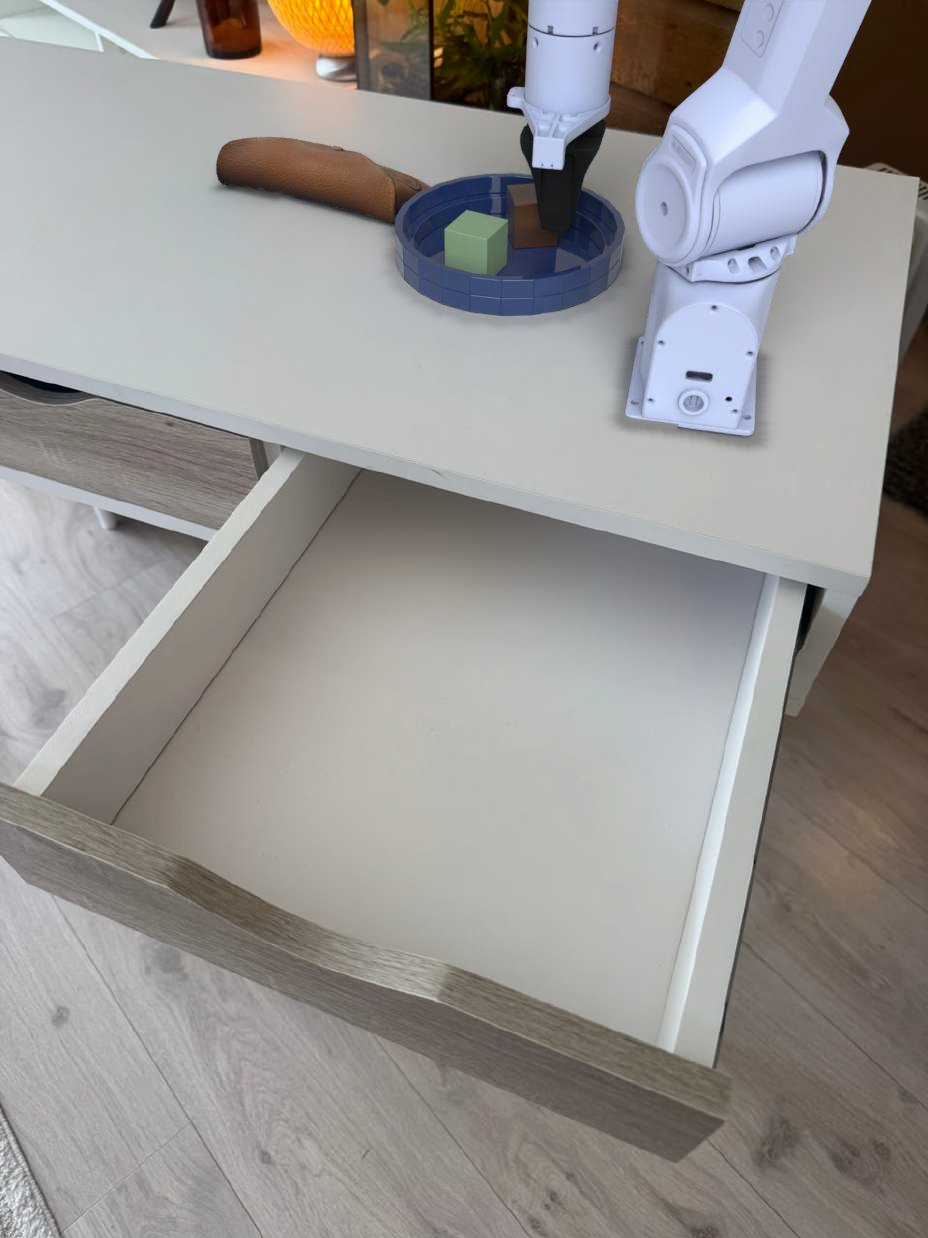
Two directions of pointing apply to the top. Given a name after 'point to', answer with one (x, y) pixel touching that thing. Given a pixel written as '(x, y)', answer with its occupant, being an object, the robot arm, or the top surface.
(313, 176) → the sunglasses case
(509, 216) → the walnut block
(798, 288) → the top surface
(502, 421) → the top surface
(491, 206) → the bowl
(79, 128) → the top surface
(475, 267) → the sage block
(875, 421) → the top surface
